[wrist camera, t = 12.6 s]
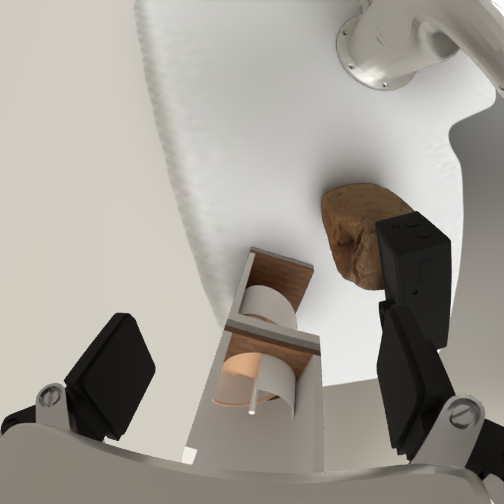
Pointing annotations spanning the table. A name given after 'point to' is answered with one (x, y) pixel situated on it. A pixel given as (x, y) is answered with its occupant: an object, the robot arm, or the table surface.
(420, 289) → the digital camera
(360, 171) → the table surface
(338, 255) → the brown rounded lump
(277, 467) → the toilet paper holder
